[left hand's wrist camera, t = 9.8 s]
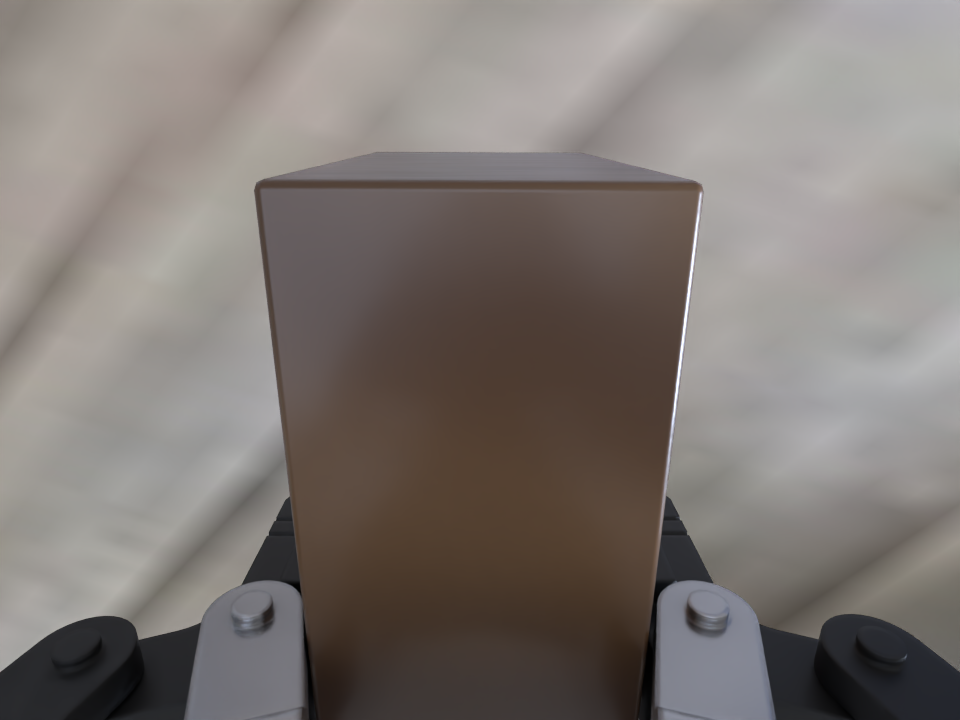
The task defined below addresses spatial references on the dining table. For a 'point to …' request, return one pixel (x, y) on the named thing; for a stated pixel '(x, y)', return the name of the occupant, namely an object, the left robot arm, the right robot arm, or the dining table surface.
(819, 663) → the left robot arm
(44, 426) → the dining table surface
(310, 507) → the beam
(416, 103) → the dining table surface
